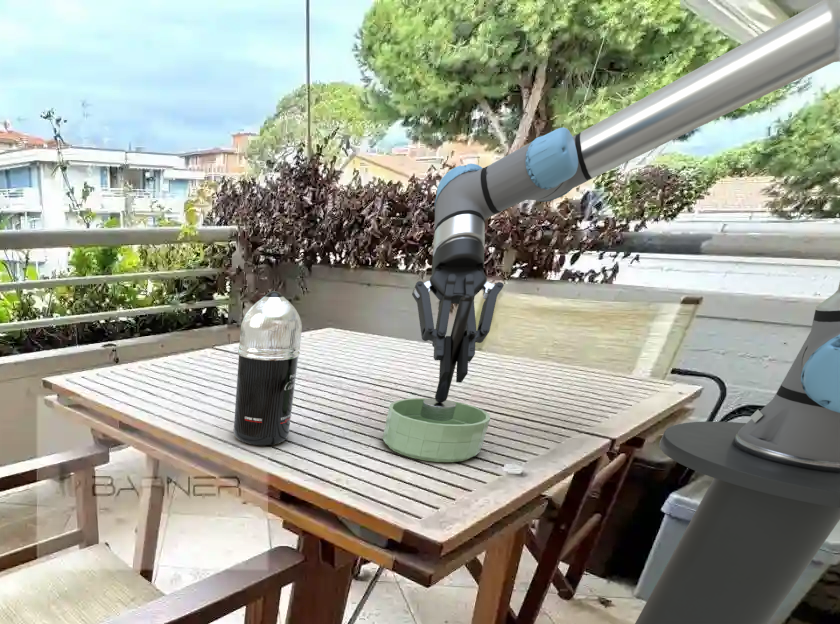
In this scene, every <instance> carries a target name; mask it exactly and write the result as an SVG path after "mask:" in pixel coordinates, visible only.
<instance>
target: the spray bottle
mask: <svg viewBox="0 0 840 624" xmlns="http://www.w3.org/2000/svg"><path fill="white" fill-rule="evenodd" d="M239 331H240V332H239V343H238V344H239V345H238V350H237V354H238V363H237V377H236V389H235V390H236V391H235V392H236V393H235V407H234V417H233V418H234V420H233V434H234V437H236V439H237V440H239V441H240V442H242V443H245V444H248V445H252V446H253V445H254V446H261V447H263V446H265V447H266V446H273V445H274V446H275V445H278V444H281V443H283V442H284V441H285V440H287V438H288V437H289V434H290V427H291V419H292V411H293V402H294V394H295V387H296V380H297V379H296V378H297V369H298V362H299V356H300V354H301V353H300V351H301V339H302V333H303V332H302V331H303V323H302V318H301V315H300V314H299V312H298V310H297V309H296V308H295V306H294V305H293V304H292V303H291V302H290V301H289V300H288V299H286V298H285V296H284V295H283V294H282V293H281V292H279V291H275V290H272V291H270V292H267V294H265V295H264V296H263V297H262V298H261V299H259V300H258V301H256V302H255V303H254V304H253V305H252V306H251V307H250V308H249V309H248V310H247V312H246V313H245V315H244V316H243V319H242V321H241V324H240V330H239Z"/></svg>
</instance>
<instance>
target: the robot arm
mask: <svg viewBox="0 0 840 624" xmlns="http://www.w3.org/2000/svg"><path fill="white" fill-rule="evenodd" d="M833 63H840V0H820V1H819V2H817V3H815V4H813V5H812V6H810V7H807V8H806V9H804V10H802V11H801V12H799V13H797V14H795V15H793V16H791V17H789V18H788V19H786V20H784V21H782V22H780V23H778V24H777V25H775V26H773V27H771V28H770V29H767V30H765V31H764V32H762V33H760V34H758V35H756V36H754V37H753V38H751V39H749V40H747V41H745V42H744V43H741V44H740V45H738V46H736V47H734V48H732V49H730V50H729V51H727V52H725V53H723V54H722V55H719V56H718V57H716V58H714V59H712V60H710V61H709V62H706V63H705V64H703V65H701V66H700V67H697V68H696V69H694V70H692V71H690V72H688V73H687V74H685V75H683V76H681V77H679V78H677V79H676V80H674V81H672V82H670V83H668V84H666V85H665V86H663V87H661V88H659V89H657V90H655V91H654V92H652V93H649V94H648V95H646V96H645V97H642V98H641V99H639V100H637V101H635V102H634V103H632V104H629V105H628V106H626V107H624V108H622V109H621V110H618V111H617V112H615V113H613V114H612V115H609V116H608V117H605V118H604V119H602V120H600V121H598V122H596V123H594V124H593V125H591V126H589V127H588V128H586V129H583V130H582V131H580V132H579V133H577V134H575V135H572V133H571V131H570V130H569V129H568V128H566V127H559V128H555V129H554V130H552V131H550V132H548V133H546V134H544V135H540V136H538V137H536V138H534V140H532V141H530V142H528V143H527V144H525V145H523V146H522V147H519V148H518V149H516V150H514V151H513V152H510V153H509V154H507V155H505V156H504V157H502V158H500V159H498V160H496V161H494V162H493V163H490V164H489V165H487V166H485V167H482V166H480V165H479V164H477V163H467V164H465V165H457V166H456V167H455V166H454V167H453V168H451V169H449V171H448V172H446V173H445V174H444V175H443V176H442V178H441V179H440V181H439V183H438V185H437V189H436V196H435V199H434V232H433V243H432V244H433V245H432V246H433V247H432V259H431V260H432V263H431V276H430V278H429V280H427V281H421V280H419V281H417V282H416V283H415V285H414V288H413V290H412V293H411V294H412V295H411V296H412V298H413V299H414V300H415V302H416V305H417V312H418V313H417V314H418V320H419V328H420V335H421V340H422V341H424V342H426V341H427V342H428V341H431V342H432V344H431V346H432V347H433V360H434V361H439V374H438V382H439V381H441V382H444V381H445V380H446V378H447V376H448V375H449V373H450V358H451V335H447V333H448V325H449V319H450V312H451V306H452V304H456V305H458V304H459V301H460V298H461V297H462V296H463V295H466V294H469V295H471V296H472V297H473V302H472V306H471V310H470V313H469V317H468V321H467V325H466V329H465V332H464V336H463V340H462V344H461V347H460V351H459V355H458V359H457V363H456V373H455V374H456V377H455V382H456V383H462V382H464V379H465V378H466V376H467V375H468V374H469V363H470V362H472V360H473V358H474V357H475V355H476V343H477V344H482V343H483V342H484V340H485V339H486V337H487V336H488V335H489V333H490V331H491V325H492V321H493V317H494V313H495V308H496V303H497V299H498V296H499V295H500V293H501V292H502V289H503V288H504V283H503V282H500V281H498V282H496V283H493V282H490V281H488V278H487V275H486V274H485V272H484V270H485V245H486V244H485V243H486V241H485V240H486V237H485V236H486V234H485V233H486V231H485V230H486V229H485V227H486V219H489V218H490V217H492V216H494V215H497V214H499V213H501V212H503V211H505V210H507V209H509V208H511V207H514V206H516V205H518V204H520V203H523V202H525V201H536V202H542V203H546V202H547V203H548V202H552V201H555V200H557V199H559V198H561V197H563V196H566V195H567V194H568V193H569V192H571V191H572V190H573V189H574V188H577V187H579V186H581V185H582V184H585V183H587V182H588V181H590V180H592V179H595V178H596V177H599V176H600V175H602V174H604V173H607V172H609V171H610V170H613V169H615V168H617V167H619V166H621V165H623V164H625V163H628V162H630V161H631V160H634V159H635V158H637V157H640V156H642V155H644V154H646V153H648V152H650V151H653V150H655V149H657V148H659V147H661V146H663V145H665V144H667V143H669V142H672V141H674V140H675V139H677V138H680V137H681V136H684V135H685V134H688V133H690V132H692V131H694V130H696V129H698V128H700V127H702V126H704V125H706V124H708V123H711V122H713V121H715V120H717V119H719V118H721V117H723V116H725V115H727V114H729V113H731V112H733V111H736V110H737V109H739V108H742V107H745V106H746V105H748V104H750V103H752V102H754V101H756V100H758V99H761V98H763V97H765V96H767V95H769V94H771V93H773V92H775V91H778V90H779V89H781V88H783V87H786V86H787V85H789V84H792V83H794V82H796V81H797V80H800V79H802V78H805V77H806V76H808V75H810V74H813V73H814V72H816V71H818V70H821V69H822V68H825V67H827V66H828V65H831V64H833ZM837 287H838V288H837V290H836V291H835V292H834V293H833V294H832V295H830V296H829V297H827V298H826V299H824V300H823V301H822V302H820V303H818V305H816V306H815V311H814V315H813V320H812V324H811V329H810V332H809V334H808V335H807V337H806V339H805V341H804V343H803V344H802V346H801V348H800V350H799V352H798V354H797V355H796V357H795V359H794V361H793V362H792V364H791V366H790V368H789V369H788V371H787V373H786V375H785V376H784V378H783V380H782V382H781V384H780V385H779V388H778V389H777V391H776V393H775V395H774V396H773V398H772V399H771V400H770V401H769V402H767V404H766V405H764V406H763V407H762V409H760V410H759V409H757V410H755V411H754V413H753V414H752V415H750V416H749V417H750V419H749V420H748V421H747V422H745V423H746V424H745V425H744V426H743V427H742V428H741V429H740V430H739V431H738V432H737V434H736V436H735V438H734V440H733V441H732V444H733V446H734V447H736V448H737V449H739V450H740V451H742V452H745V453H747V454H749V455H752V456H755V457H758V458H761V459H764V460H767V461H771V462H775V463H779V464H783V465H787V466H792V467H797V468H802V469H808V470H814V471H822V472H830V473H840V281H839V282H838V286H837ZM480 291H482V292H483V293H482V296H483V299H484V302H483V303H482V307H481V311H480V315H479V320H478V325H477V322H476V321H477V320H476V311H475V297H476V296H477V295H478V294H479V293H480ZM430 292H431V293H432V294H433V295H434V296H435V297H436V298H437V299H438V300H439V301H438V308H437V310H438V311H437V318H436V323H435V324H434V317H433V310H432V302H431V295H430Z"/></svg>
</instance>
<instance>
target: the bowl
mask: <svg viewBox="0 0 840 624" xmlns="http://www.w3.org/2000/svg"><path fill="white" fill-rule="evenodd" d="M425 399H431V397H430V398H423V397H422V398H421V397H417V398H416V397H415V398H404V399H403V398H402V399H399V400H395V401H393V402H391V403H390V404H389V406H388V410H387V415H386V420H385V425H384V430H383V434H382V435H383V436H382V440H383V442H384V444H385V445H387V447H388V448H389V449H390V450H392V451H393V452H395V453H397V454H399V455H402V456H405V457H408V458H412V459H415V460H421V461H424V462H425V461H426V462H432V463H433V462H435V463H459V462H463V461H467V460H470V459H472V458H473V457H476V456H477V455H479V453H481V450H482V447H483V444H484V441H485V438H486V434H487V431H488V428H489V424H490V422H491V415H490V413H488V412H487V411H486V410H484V409H481V408H479V407H477V406H475V405H472V404H469V403H464V402H460V401H455V400H449V399H448V400H449V401H452V402H454V403H456V408H455V412H454V415H453V419H452V420H449V421H435V420H430V419H426V418H423V417H422V416H421V415H420V413H421V408H422V404H423V401H424V400H425Z"/></svg>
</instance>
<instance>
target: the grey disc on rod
mask: <svg viewBox="0 0 840 624" xmlns="http://www.w3.org/2000/svg"><path fill="white" fill-rule="evenodd" d="M472 302H473V297H472V296H471V295H469V294H466V295H463V296H462V297H461V298H460V301H459V304H457V308H456V313H455V315H454V316H455V317H454V321H453V323H452V328H451V332H450V336H451V358H450V373H449V375H448V376H447V378H446V380H445V381H444V382H441V381H439V380H438V383H437V387H436V391H435V395H434V398H430V399H425V400H424V401H423V404H422V408H421V413H420V415H421V416H422V417H423V418H426V419H430V420H435V421H449V420H452V419H453V415H454V412H455V408H456V403H454V402H452V401H453V400H450V401H449V399H448V397H449V393H450V389H451V385H452V381H453V378H454V373H455V370H456V367H457V359H458V355H459V351H460V347H461V344H462V340H463V336H464V332H465V329H466V325H467V321H468V317H469V313H470V310H471V306H472Z"/></svg>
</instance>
